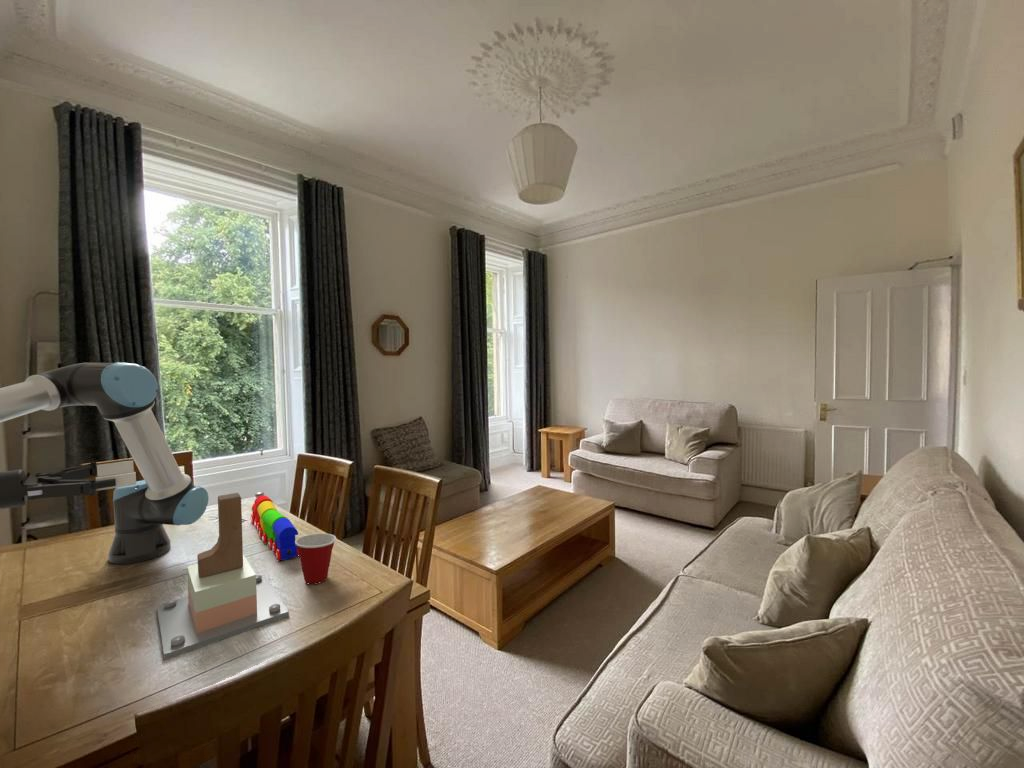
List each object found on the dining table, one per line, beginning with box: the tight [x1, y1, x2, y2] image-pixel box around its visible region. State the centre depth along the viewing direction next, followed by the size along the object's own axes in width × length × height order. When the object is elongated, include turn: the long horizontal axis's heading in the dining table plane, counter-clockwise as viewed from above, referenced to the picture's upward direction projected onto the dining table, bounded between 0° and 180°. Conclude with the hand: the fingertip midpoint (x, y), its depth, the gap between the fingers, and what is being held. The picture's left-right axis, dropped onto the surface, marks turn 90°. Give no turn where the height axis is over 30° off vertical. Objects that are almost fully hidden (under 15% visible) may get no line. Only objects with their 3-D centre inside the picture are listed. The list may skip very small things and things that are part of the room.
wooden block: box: [197, 492, 244, 578], centre depth 108 cm, size 9×4×18 cm, turn 128°
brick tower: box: [156, 553, 290, 661], centre depth 109 cm, size 24×24×11 cm
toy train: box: [250, 491, 299, 562], centre depth 154 cm, size 45×7×11 cm, turn 41°
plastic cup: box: [295, 533, 337, 585], centre depth 126 cm, size 11×11×12 cm
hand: (134, 471), depth 104 cm, fingers open, 13 cm apart
